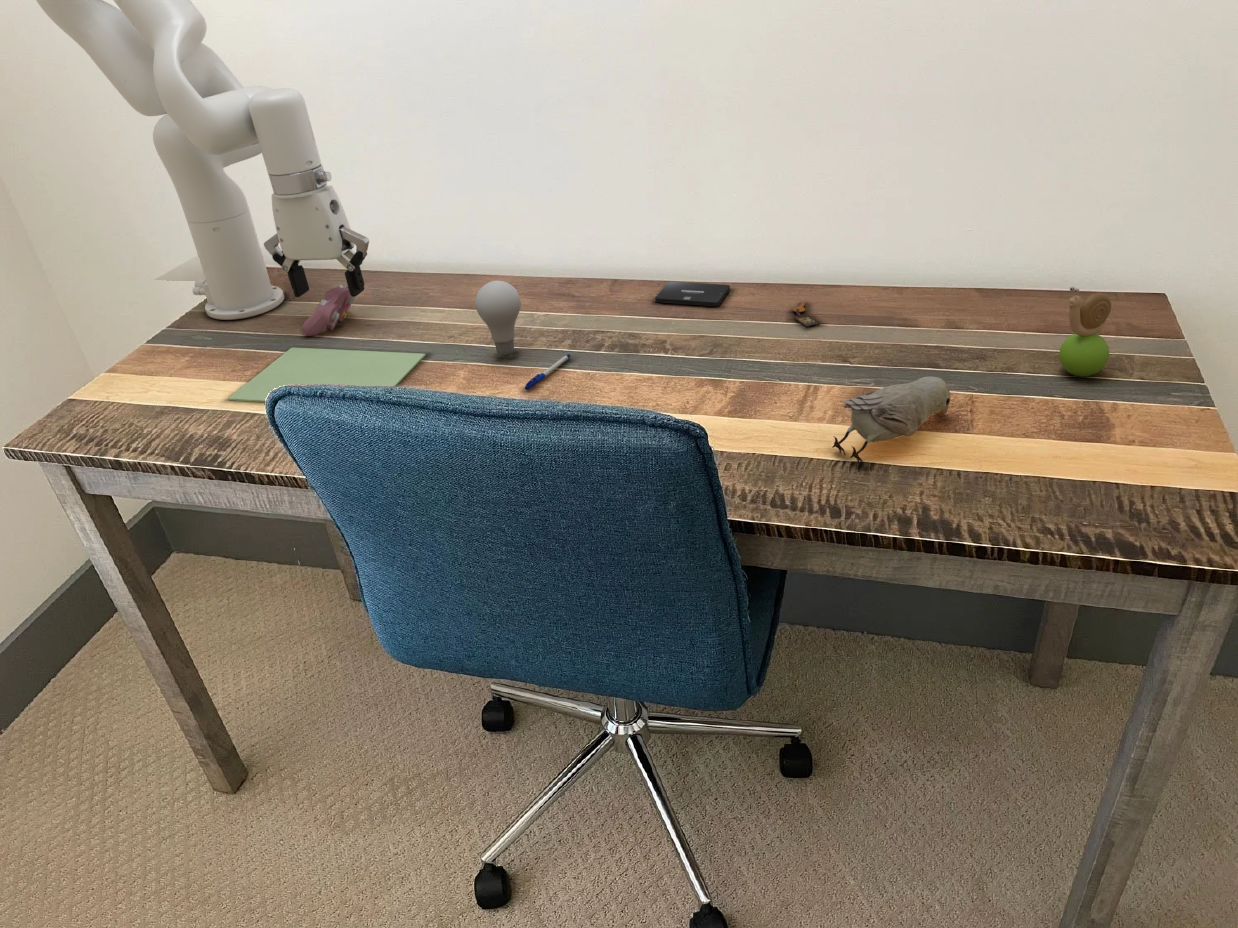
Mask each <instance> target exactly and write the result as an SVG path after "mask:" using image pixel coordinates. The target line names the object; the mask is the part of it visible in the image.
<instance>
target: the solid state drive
mask: <svg viewBox="0 0 1238 928" xmlns="http://www.w3.org/2000/svg"><path fill="white" fill-rule="evenodd" d="M730 290H731V285H729V284H718V283H703V282H689V281H675V280H670V281H668V282H667V283H666V284H665V285H664V286H663V287H662V289H661V290H660V291H659V292H658V293H657V294H656V296H655V299H654V300H655V302H656V303H665V304H678V305H692V306H704V307H718V306H720V304H721V303H722V301H723V300H724V298H725V297H726V296H727V295H728V293H729V292H730Z"/></svg>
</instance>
